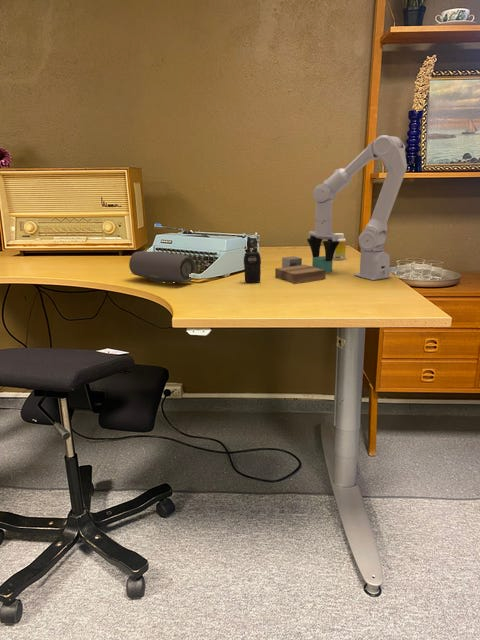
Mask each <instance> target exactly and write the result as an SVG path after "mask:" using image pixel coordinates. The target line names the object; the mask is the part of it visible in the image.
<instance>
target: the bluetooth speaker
mask: <svg viewBox="0 0 480 640" xmlns="http://www.w3.org/2000/svg"><path fill="white" fill-rule="evenodd" d="M128 267H129V270H130V272H131V273H132V274H133V275H134V276H138V277H142V278H146V279H149V281H150V282H152V281H154V282H153V283H157V282H165V283H173V282H176V283H188V282H191V281H192V280H193V279H194V278H191V277H189V274H191V273H195V272H196V273H197V265H196V263H195V260H194V259H193V257H191V256H189V255H184V254H178V253H171V252H163V251H142V250H141V251H135V252H133V253H132V255H131V257H130V258H129V263H128ZM196 273H195V274H196Z"/></svg>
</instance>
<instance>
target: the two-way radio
mask: <svg viewBox="0 0 480 640" xmlns="http://www.w3.org/2000/svg"><path fill="white" fill-rule="evenodd" d="M261 258H262V257H261V255H260V252H259V251H258V247H254V248H253V251H251V237H250V236H249V235H248V236H247V237H246V252H245V253H244V256H243V265H244V266H243V268H244V269H243V272H244V282H245V283H247V284H252V283H256V284H258V283H260V282H261V270H262V268H261V267H262V266H261V265H262V261H261V260H262V259H261Z"/></svg>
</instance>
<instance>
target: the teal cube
mask: <svg viewBox="0 0 480 640" xmlns="http://www.w3.org/2000/svg"><path fill="white" fill-rule="evenodd" d="M333 261H334V260H333V258H332V261H326V258H325V255H322V256H320V255H319V257H313V256H312V264H311V265H312V267H315V268H319V269H323V270H326V273H333ZM326 273H325V274H326Z"/></svg>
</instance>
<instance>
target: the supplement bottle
mask: <svg viewBox="0 0 480 640" xmlns="http://www.w3.org/2000/svg"><path fill="white" fill-rule="evenodd" d="M334 234H335V235H339V236H338V241H339V244H338V246H337V248H336V250H335V252H334V255H333V261H334V260H335V261H343V260H345V259H346V248H347V246H346V243H347V239H346V238H345V234H344V233H342V232H338V233H337V232H336V233H334Z"/></svg>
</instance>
